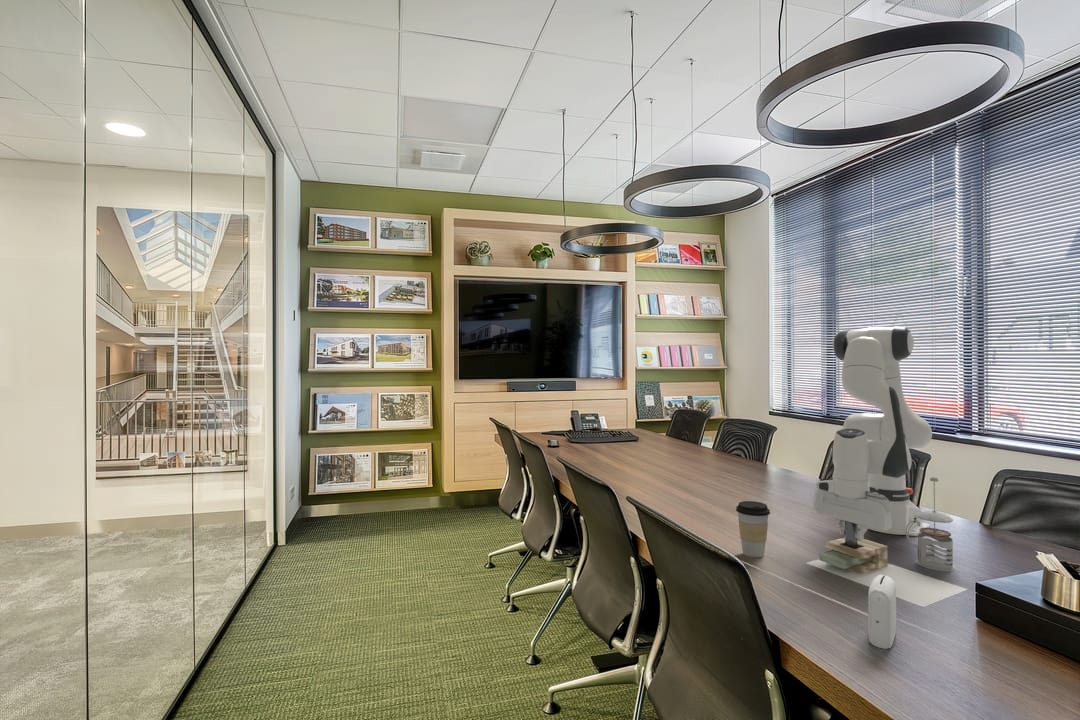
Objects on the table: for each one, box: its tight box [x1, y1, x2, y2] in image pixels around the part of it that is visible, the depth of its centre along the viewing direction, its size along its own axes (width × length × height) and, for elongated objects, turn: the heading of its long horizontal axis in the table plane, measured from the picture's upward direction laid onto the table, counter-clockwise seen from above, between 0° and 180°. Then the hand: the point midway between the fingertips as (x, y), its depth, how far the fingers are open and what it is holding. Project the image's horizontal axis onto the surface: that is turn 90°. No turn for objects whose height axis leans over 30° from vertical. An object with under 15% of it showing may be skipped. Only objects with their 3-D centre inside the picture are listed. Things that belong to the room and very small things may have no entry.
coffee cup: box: [735, 500, 771, 558], centre depth 155 cm, size 9×9×15 cm
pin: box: [844, 521, 858, 549], centre depth 145 cm, size 3×3×10 cm
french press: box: [905, 476, 957, 572], centre depth 146 cm, size 10×12×25 cm
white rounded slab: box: [867, 575, 897, 650], centre depth 108 cm, size 10×4×12 cm, turn 140°
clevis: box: [818, 536, 888, 574], centre depth 145 cm, size 17×10×6 cm, turn 117°
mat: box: [806, 558, 969, 608], centre depth 138 cm, size 20×30×1 cm, turn 27°
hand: (851, 537), depth 145 cm, fingers closed on pin, 3 cm apart
